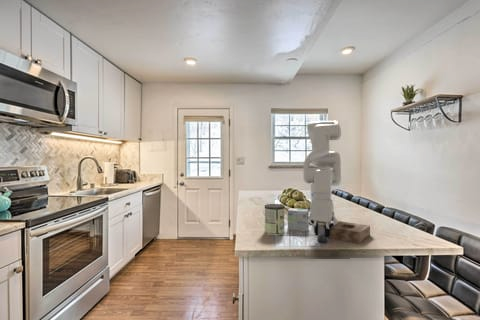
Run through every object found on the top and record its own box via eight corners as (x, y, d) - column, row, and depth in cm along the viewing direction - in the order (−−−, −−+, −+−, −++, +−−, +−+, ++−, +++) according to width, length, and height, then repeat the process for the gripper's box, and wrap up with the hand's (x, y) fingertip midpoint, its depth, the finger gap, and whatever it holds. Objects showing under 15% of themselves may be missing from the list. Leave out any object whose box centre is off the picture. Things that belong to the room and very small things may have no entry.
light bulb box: (308, 228, 145) (308, 208, 145) (307, 231, 139) (307, 211, 139) (289, 227, 149) (289, 207, 149) (287, 230, 142) (287, 210, 142)
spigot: (315, 241, 122) (315, 222, 122) (319, 239, 125) (319, 220, 125) (325, 243, 119) (324, 223, 119) (328, 241, 122) (328, 221, 122)
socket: (325, 236, 129) (325, 226, 129) (337, 230, 141) (337, 220, 141) (359, 243, 119) (359, 232, 119) (370, 235, 131) (370, 225, 131)
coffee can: (268, 229, 144) (268, 203, 144) (286, 231, 140) (286, 204, 140) (261, 234, 135) (261, 206, 135) (281, 236, 130) (281, 207, 130)
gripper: (301, 195, 125) (301, 234, 125) (337, 199, 114) (337, 241, 114) (309, 193, 130) (309, 231, 130) (343, 197, 119) (343, 237, 119)
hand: (322, 235), depth 122 cm, fingers closed on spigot, 4 cm apart
